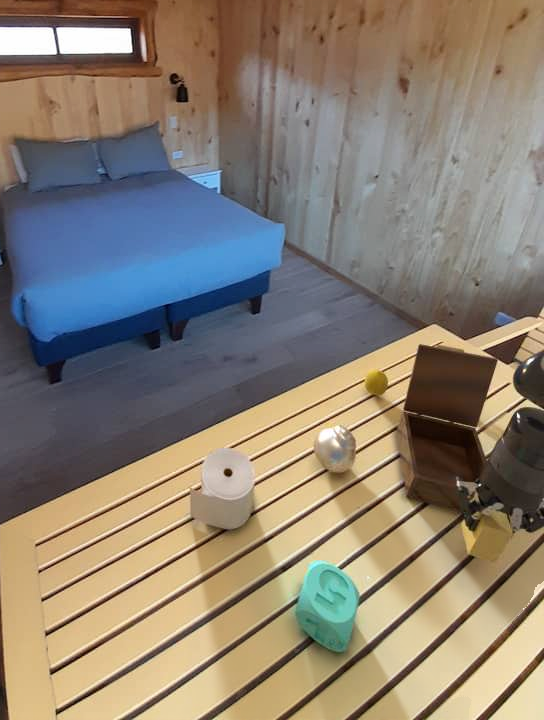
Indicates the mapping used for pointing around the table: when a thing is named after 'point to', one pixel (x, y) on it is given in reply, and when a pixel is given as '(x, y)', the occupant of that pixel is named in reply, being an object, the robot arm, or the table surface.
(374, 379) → the lemon
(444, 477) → the chest
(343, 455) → the silver round lump
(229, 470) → the toilet tissue
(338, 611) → the decorative dice
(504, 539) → the block
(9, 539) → the table surface
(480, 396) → the lid
